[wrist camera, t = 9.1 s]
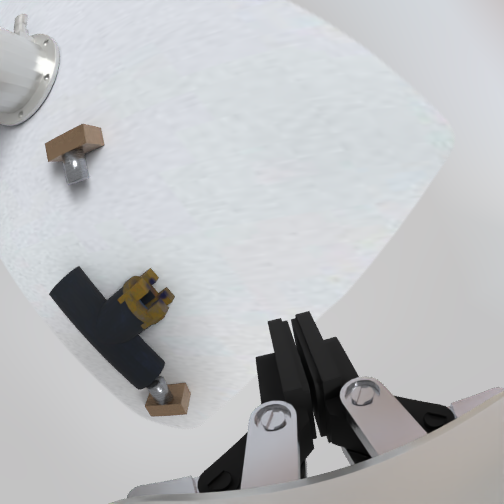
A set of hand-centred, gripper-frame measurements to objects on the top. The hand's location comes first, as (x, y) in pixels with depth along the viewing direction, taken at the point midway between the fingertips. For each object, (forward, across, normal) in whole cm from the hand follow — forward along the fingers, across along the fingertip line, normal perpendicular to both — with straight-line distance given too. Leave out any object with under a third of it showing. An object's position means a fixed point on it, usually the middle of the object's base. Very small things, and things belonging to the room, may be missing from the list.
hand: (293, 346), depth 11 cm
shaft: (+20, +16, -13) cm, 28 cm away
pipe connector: (+20, +16, +5) cm, 26 cm away
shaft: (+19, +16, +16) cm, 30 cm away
